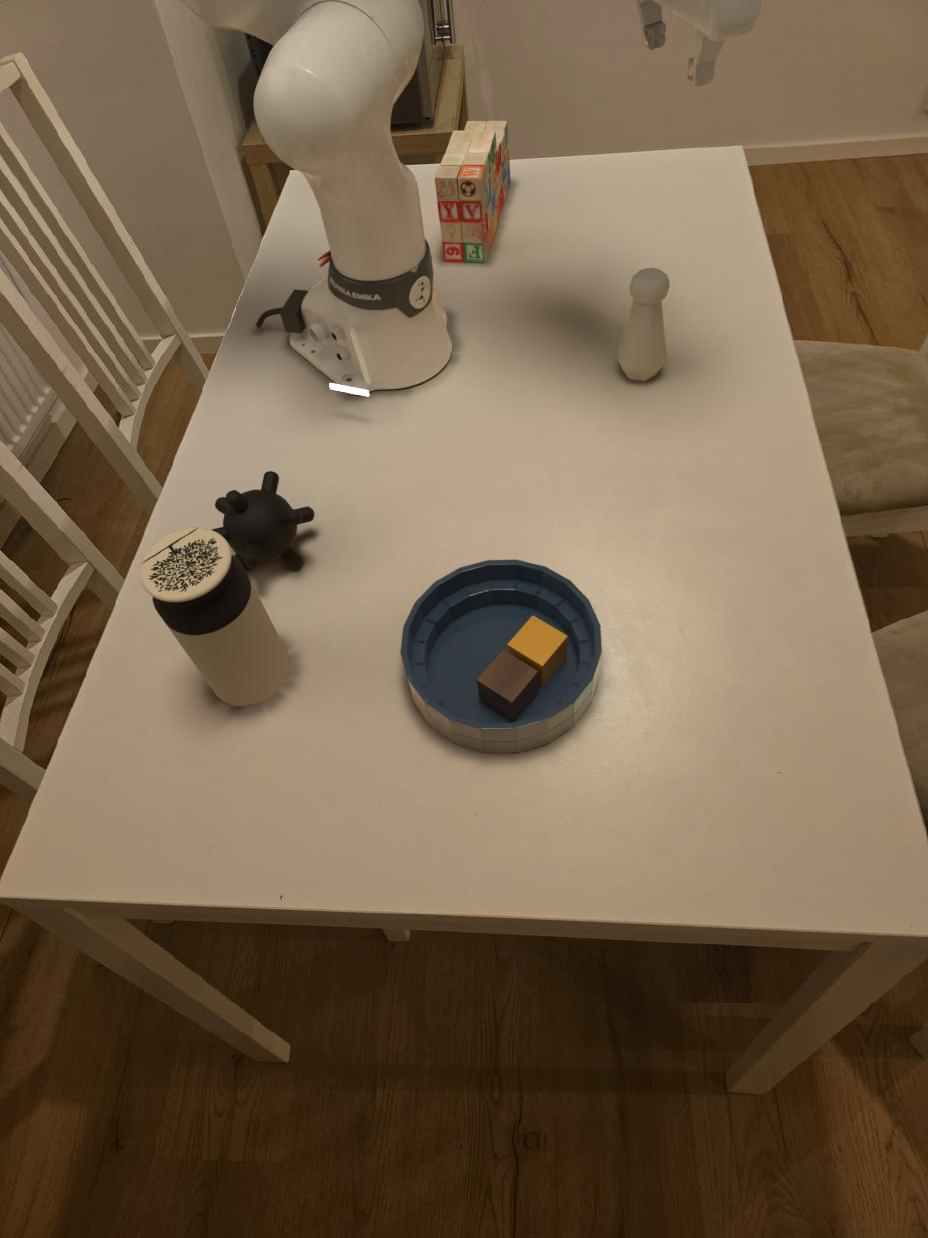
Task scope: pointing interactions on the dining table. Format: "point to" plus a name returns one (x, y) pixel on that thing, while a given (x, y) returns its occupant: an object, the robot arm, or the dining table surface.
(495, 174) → the stack of blocks
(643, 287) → the salt shaker
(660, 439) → the dining table surface
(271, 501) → the toy ball
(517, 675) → the walnut block
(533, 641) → the mustard block
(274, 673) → the travel mug
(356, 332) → the robot arm
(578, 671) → the bowl
